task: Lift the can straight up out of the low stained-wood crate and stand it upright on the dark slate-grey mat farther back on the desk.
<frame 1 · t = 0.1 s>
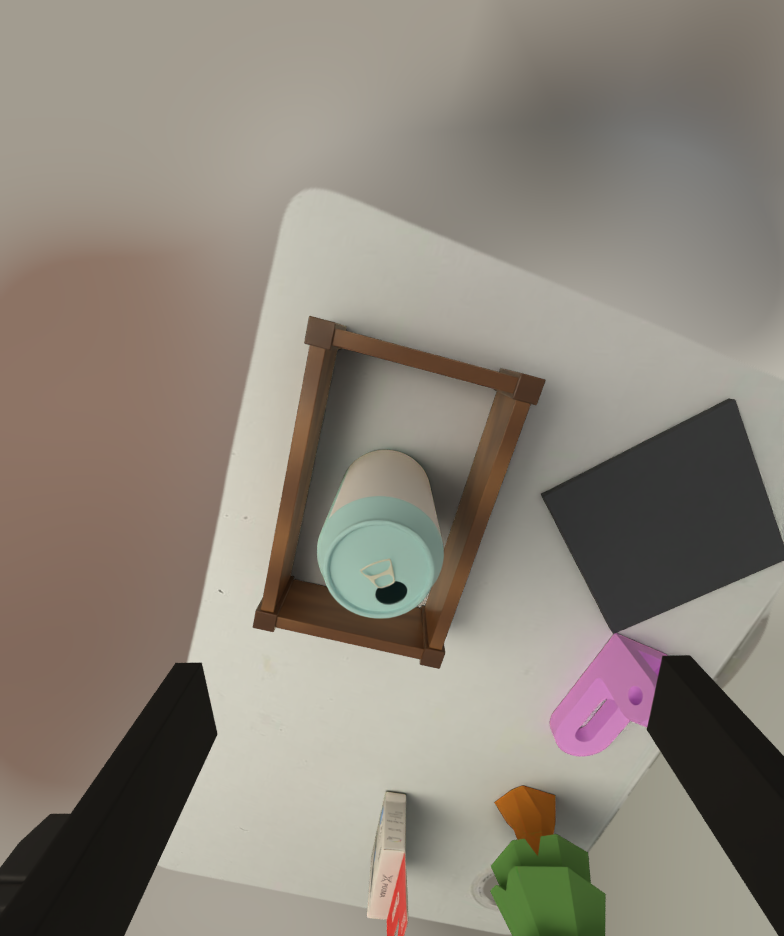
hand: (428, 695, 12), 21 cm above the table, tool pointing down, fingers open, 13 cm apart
crate: (385, 490, 32), on the table
bracket: (599, 692, 38), on the table
decorative tree: (519, 803, 43), on the table
mat: (663, 525, 32), on the table
ink cartridge box: (388, 823, 44), on the table
can: (385, 489, 32), resting in crate
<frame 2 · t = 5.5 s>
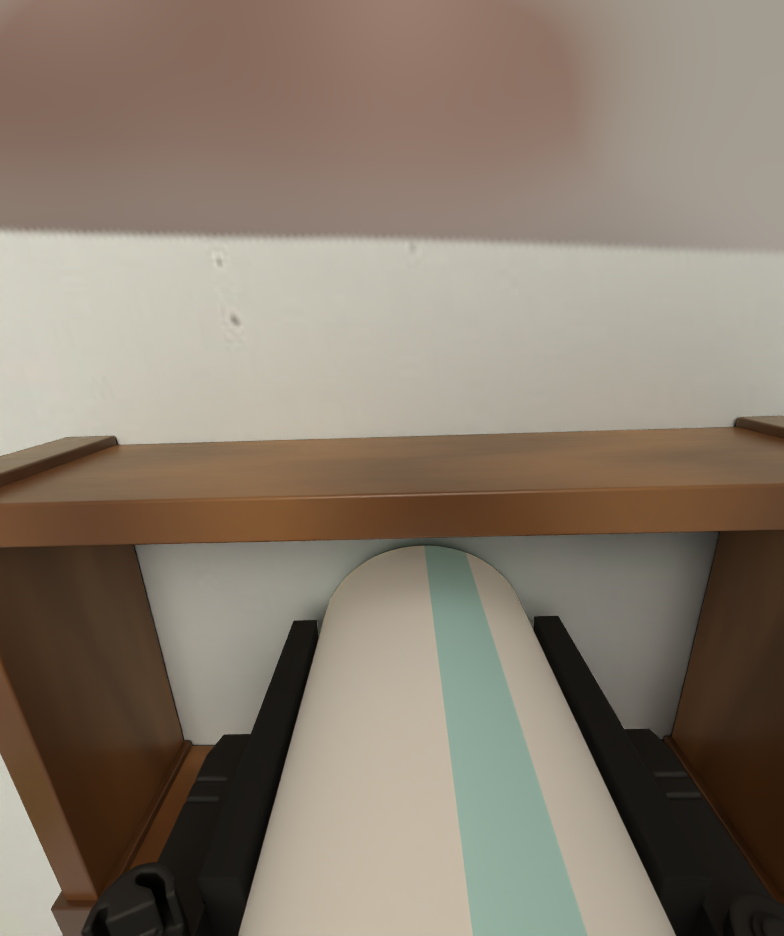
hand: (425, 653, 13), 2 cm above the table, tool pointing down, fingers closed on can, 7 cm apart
crate: (422, 621, 15), on the table
can: (422, 618, 15), resting in crate, touching gripper
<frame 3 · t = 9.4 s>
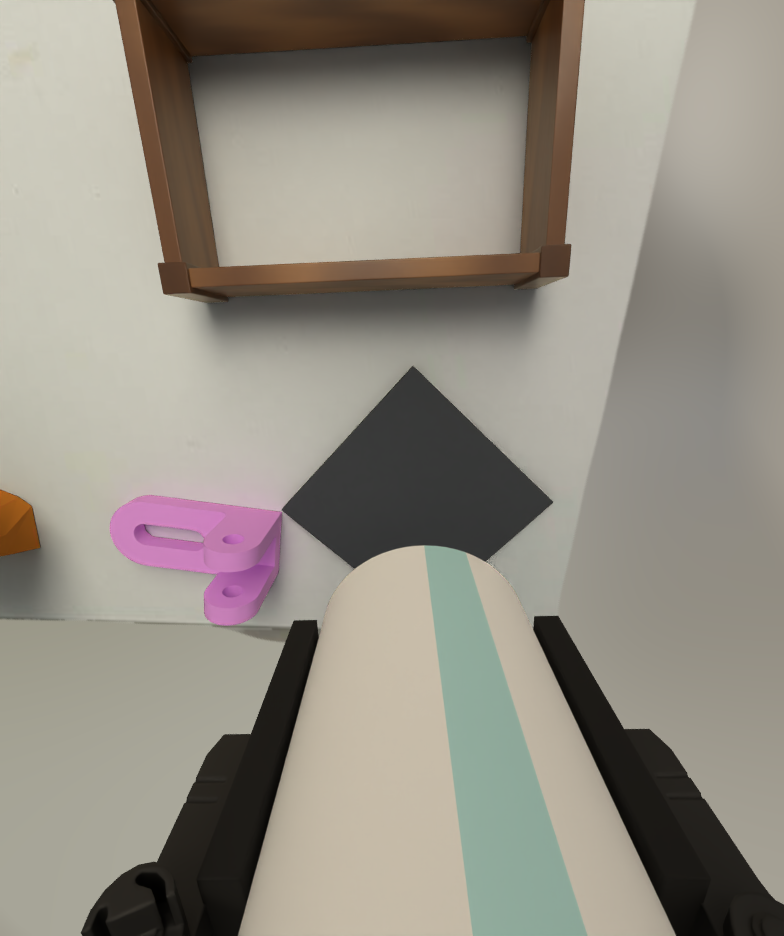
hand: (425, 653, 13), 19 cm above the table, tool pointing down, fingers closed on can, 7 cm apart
crate: (363, 169, 25), on the table
bracket: (202, 531, 33), on the table
decorative tree: (2, 514, 33), on the table
mat: (415, 503, 32), on the table
can: (422, 618, 15), point 17 cm above the table, touching gripper
when the fingers open (2 cm above the table, at t = 13.5 s): can stays where it is, resting on mat.
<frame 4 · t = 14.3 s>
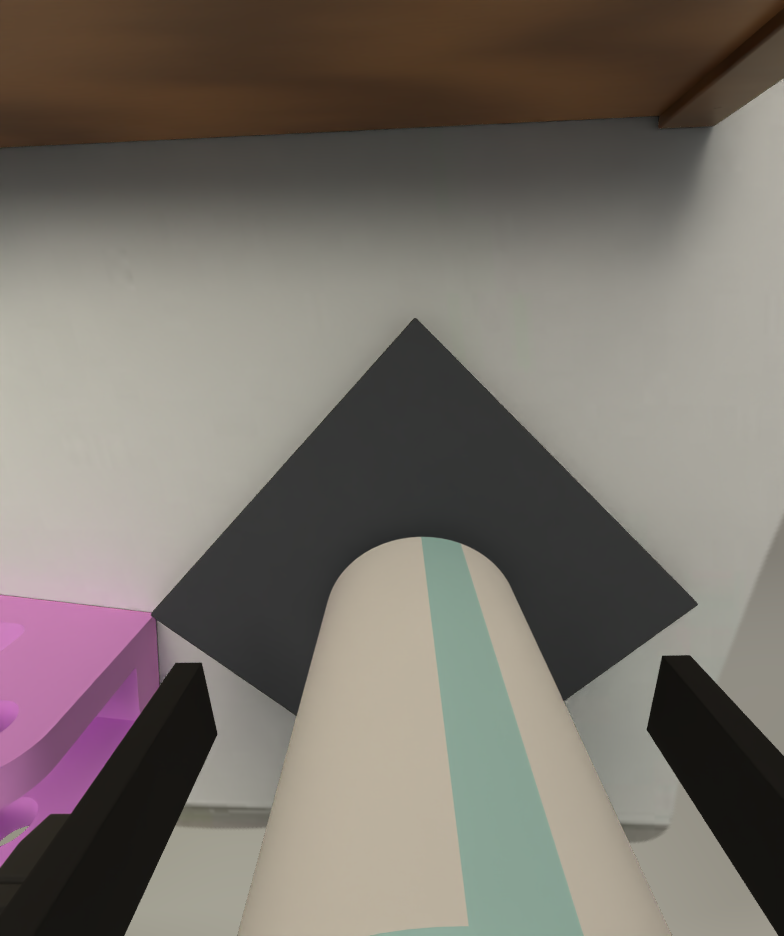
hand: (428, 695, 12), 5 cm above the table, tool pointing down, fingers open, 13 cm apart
bracket: (9, 646, 17), on the table
mat: (418, 600, 16), on the table
can: (419, 607, 16), resting on mat
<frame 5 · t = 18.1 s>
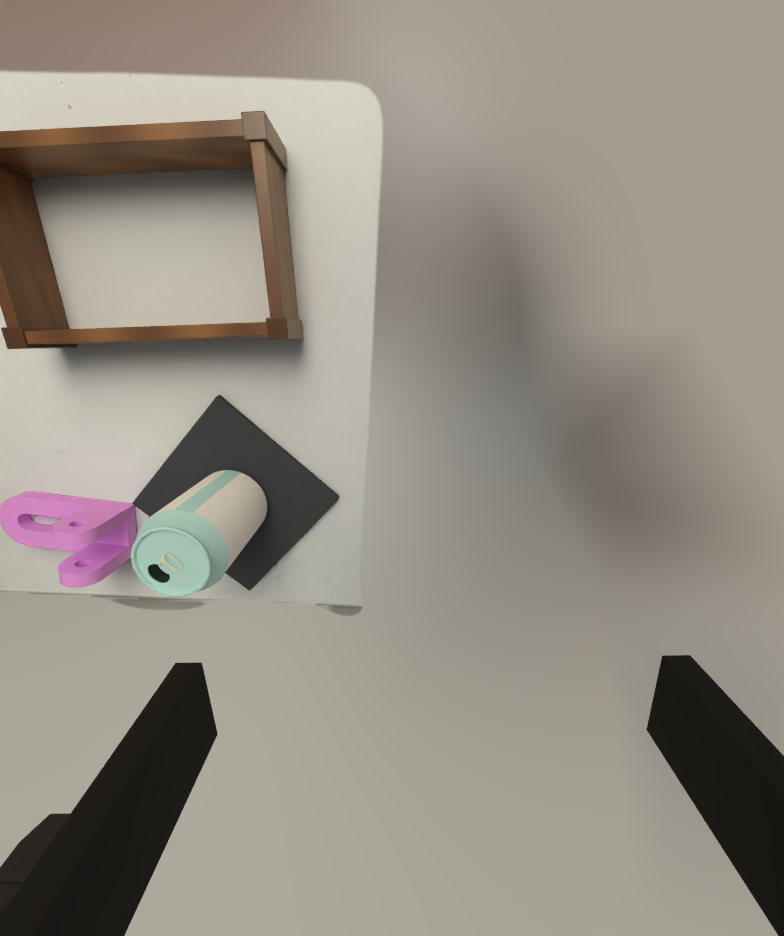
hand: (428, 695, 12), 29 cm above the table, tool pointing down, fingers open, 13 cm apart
crate: (164, 254, 34), on the table
bracket: (75, 519, 42), on the table
mat: (236, 498, 41), on the table
can: (235, 500, 40), resting on mat
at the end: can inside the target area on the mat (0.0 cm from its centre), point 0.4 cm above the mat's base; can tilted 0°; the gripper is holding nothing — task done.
